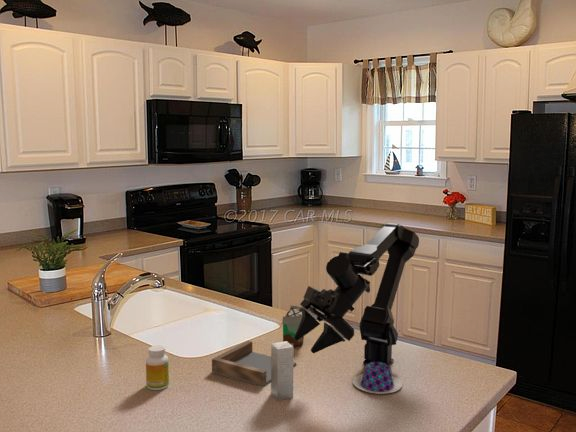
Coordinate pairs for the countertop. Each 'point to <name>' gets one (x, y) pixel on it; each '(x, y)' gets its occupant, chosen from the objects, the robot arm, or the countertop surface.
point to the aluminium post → (282, 370)
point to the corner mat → (255, 366)
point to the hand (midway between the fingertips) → (303, 345)
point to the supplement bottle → (157, 368)
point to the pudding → (377, 379)
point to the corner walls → (229, 367)
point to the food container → (292, 326)
